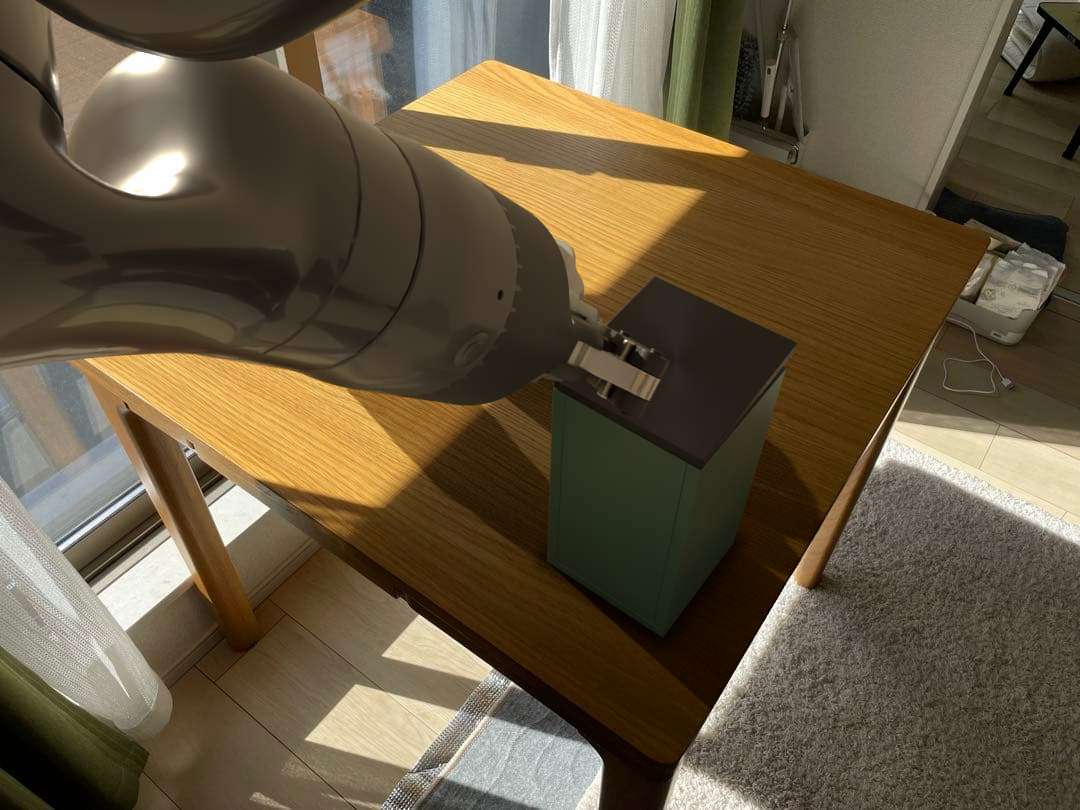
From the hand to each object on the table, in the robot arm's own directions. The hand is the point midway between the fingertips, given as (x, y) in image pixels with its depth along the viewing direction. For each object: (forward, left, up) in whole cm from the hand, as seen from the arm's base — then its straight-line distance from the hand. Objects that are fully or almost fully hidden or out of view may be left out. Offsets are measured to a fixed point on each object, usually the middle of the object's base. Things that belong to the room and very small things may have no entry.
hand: (603, 349), depth 44 cm
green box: (0, -8, -27) cm, 28 cm away
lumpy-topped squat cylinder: (+24, -21, -27) cm, 42 cm away
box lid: (0, -8, -8) cm, 12 cm away
